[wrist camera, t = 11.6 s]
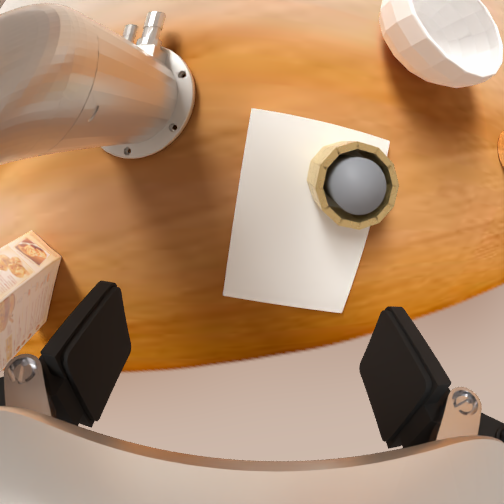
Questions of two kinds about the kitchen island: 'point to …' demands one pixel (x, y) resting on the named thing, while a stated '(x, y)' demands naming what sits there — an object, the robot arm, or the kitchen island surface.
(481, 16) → the cup
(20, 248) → the coffeecake box
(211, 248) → the kitchen island surface
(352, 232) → the stand
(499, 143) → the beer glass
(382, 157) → the brass ring
